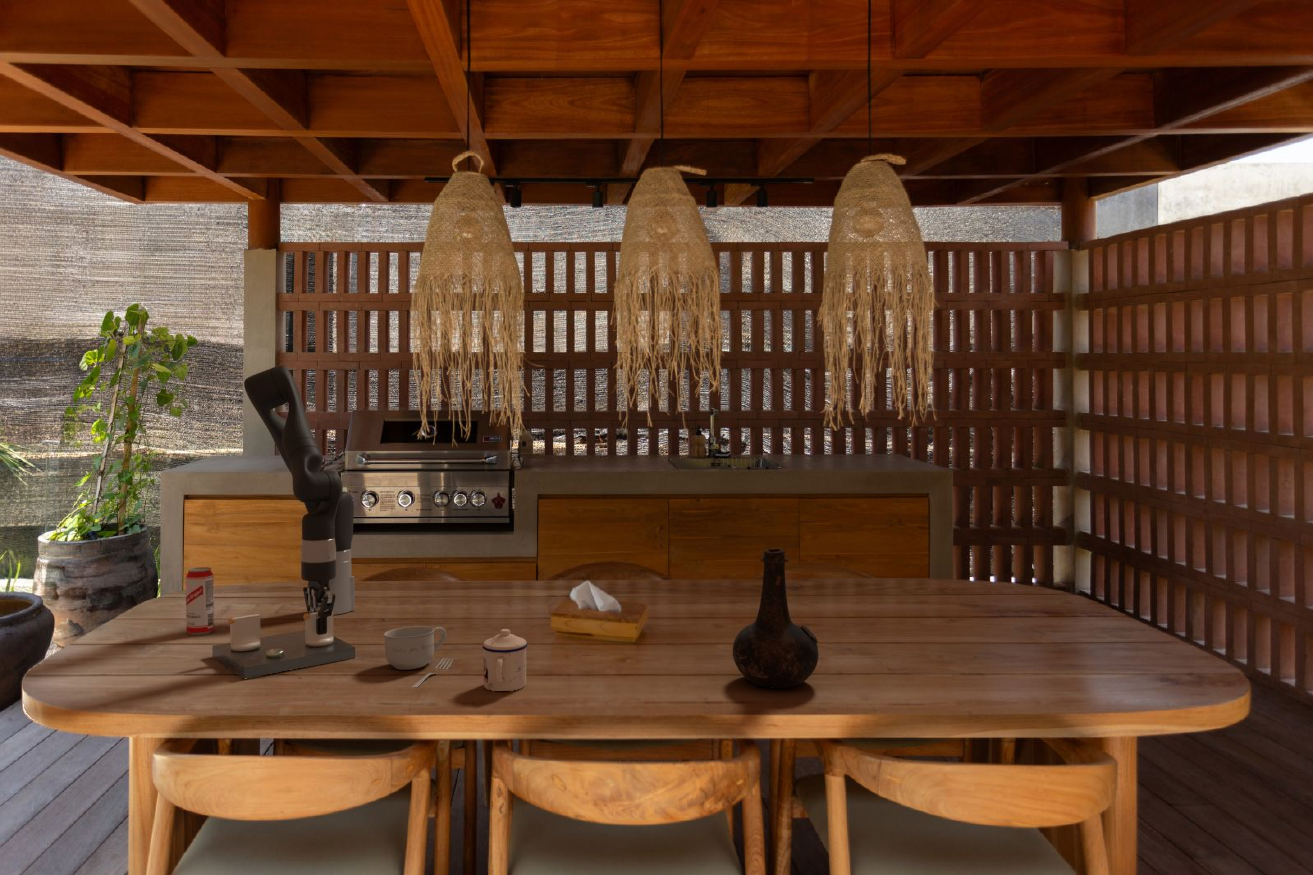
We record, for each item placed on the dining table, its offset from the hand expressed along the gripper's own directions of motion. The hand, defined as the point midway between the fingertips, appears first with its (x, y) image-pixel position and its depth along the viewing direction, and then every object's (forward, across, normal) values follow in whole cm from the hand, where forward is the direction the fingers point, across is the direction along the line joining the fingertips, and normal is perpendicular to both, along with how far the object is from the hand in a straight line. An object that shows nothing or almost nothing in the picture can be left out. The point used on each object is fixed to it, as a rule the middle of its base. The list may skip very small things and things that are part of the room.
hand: (319, 632), depth 205 cm
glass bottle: (+5, -82, -64) cm, 104 cm away
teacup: (+5, -22, -13) cm, 26 cm away
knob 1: (+2, +7, +14) cm, 16 cm away
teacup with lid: (+5, -48, -19) cm, 52 cm away
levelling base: (+5, +3, +7) cm, 9 cm away
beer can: (+5, +38, +15) cm, 41 cm away
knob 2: (+2, 0, 0) cm, 2 cm away
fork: (+6, -33, -9) cm, 35 cm away
